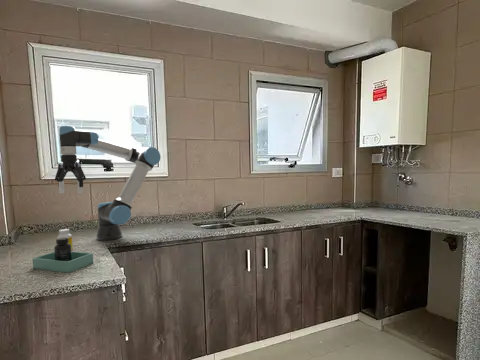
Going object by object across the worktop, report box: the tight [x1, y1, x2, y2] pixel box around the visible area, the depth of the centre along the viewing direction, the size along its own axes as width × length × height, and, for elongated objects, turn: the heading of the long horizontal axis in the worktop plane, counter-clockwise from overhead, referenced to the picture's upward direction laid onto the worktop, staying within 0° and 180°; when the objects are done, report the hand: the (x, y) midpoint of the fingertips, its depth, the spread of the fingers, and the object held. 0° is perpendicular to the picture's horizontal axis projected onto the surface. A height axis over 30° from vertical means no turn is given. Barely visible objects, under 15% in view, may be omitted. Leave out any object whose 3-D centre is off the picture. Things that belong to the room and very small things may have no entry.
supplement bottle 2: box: [53, 238, 72, 262], centre depth 138 cm, size 7×7×12 cm
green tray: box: [32, 250, 94, 274], centre depth 138 cm, size 14×22×5 cm, turn 70°
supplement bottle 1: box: [56, 228, 74, 251], centre depth 158 cm, size 7×7×13 cm
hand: (71, 193), depth 164 cm, fingers open, 13 cm apart
